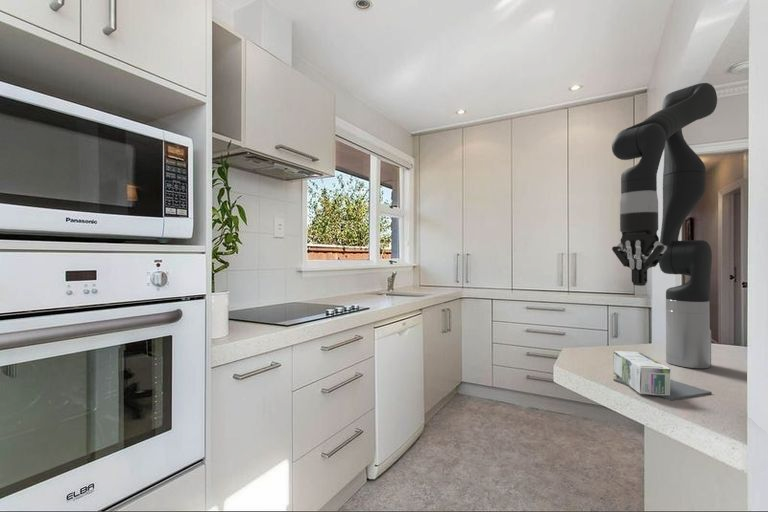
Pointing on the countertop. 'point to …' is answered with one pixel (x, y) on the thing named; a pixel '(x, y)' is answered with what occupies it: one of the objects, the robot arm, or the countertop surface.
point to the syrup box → (642, 373)
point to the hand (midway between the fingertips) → (639, 285)
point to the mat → (679, 390)
